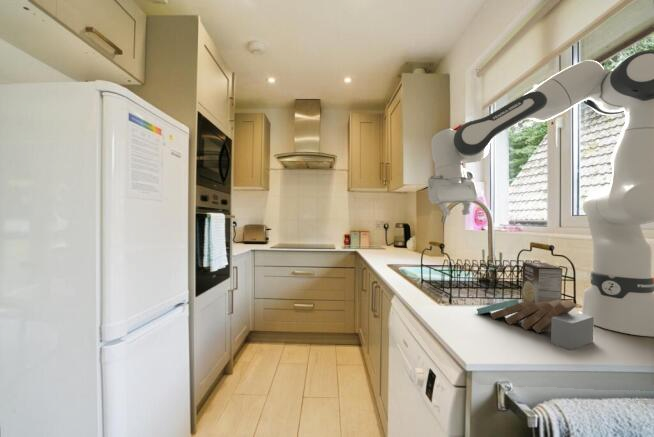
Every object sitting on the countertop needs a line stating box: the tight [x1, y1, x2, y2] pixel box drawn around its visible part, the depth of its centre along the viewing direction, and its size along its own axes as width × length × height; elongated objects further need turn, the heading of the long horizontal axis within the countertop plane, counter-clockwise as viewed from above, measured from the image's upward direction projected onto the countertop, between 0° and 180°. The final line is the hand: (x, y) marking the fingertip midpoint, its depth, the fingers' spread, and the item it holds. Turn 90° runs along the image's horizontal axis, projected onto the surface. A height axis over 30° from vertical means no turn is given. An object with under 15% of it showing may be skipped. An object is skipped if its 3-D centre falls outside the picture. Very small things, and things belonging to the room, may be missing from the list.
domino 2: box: [490, 300, 533, 320], centre depth 79 cm, size 2×5×10 cm
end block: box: [550, 311, 594, 351], centre depth 66 cm, size 10×4×6 cm, turn 116°
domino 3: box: [504, 301, 547, 325], centre depth 75 cm, size 2×5×10 cm
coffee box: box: [521, 261, 563, 319], centre depth 81 cm, size 9×6×16 cm
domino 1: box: [476, 299, 520, 315], centre depth 83 cm, size 2×5×10 cm
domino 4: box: [520, 300, 562, 331], centre depth 72 cm, size 2×5×10 cm
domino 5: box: [532, 299, 578, 334], centre depth 70 cm, size 2×5×10 cm
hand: (456, 215), depth 96 cm, fingers open, 8 cm apart
